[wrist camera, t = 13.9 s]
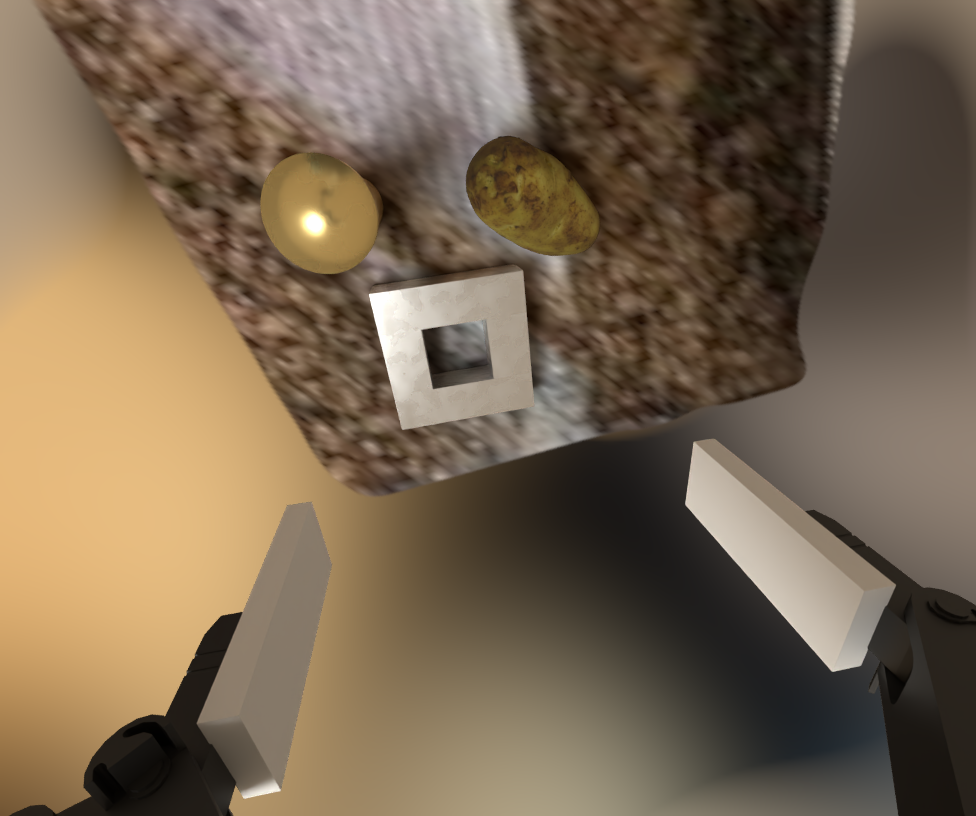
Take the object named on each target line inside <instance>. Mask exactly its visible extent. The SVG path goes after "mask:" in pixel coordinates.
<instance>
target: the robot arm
mask: <svg viewBox="0 0 976 816" xmlns="http://www.w3.org/2000/svg"><path fill="white" fill-rule="evenodd" d="M685 505H686V506H687V507H688V508H689V509H690V510H691V512H692V513H693V514H694V515H695V516H696V517H697V518H698V520H699V521H700V522H701V523H702V524H703V525H704V526H705V527H706V529H707V530H708V531H709V532H710V533H711V534H712V535H713V537H714V538H715V539H716V540H717V541H718V542H719V543H720V544H721V546H722V547H723V548H724V549H725V550H726V551H727V552H728V554H729V555H730V556H731V557H732V558H733V559H734V560H735V562H736V563H737V564H738V565H739V566H740V567H741V568H742V570H743V571H744V572H745V573H746V574H747V575H748V576H749V577H750V579H751V580H752V581H753V582H754V583H755V584H756V585H757V587H758V588H759V589H760V590H761V591H762V592H763V593H764V594H765V596H766V597H767V598H768V599H769V600H770V601H771V603H772V604H773V605H774V606H775V607H776V608H777V609H778V610H779V612H780V613H781V614H782V615H783V616H784V617H785V618H786V619H787V621H788V622H789V623H790V624H791V625H792V626H793V628H794V629H795V630H796V631H797V632H798V633H799V634H800V635H801V637H802V638H803V639H804V640H805V641H806V642H807V643H808V645H809V646H810V647H811V648H812V649H813V650H814V651H815V652H816V654H817V655H818V656H819V657H820V658H821V659H822V660H823V662H824V663H825V664H826V665H827V666H828V667H829V668H830V670H831V671H833V672H834V671H838V670H843V669H848V668H852V667H857V666H861V664H862V661H863V659H864V657H865V655H866V652H867V650H868V649H869V650H870V651H871V652H872V653H873V654H874V655H875V656H876V657H877V658H878V659H879V660H880V663H879V665H878V667H877V669H876V671H875V674H874V676H873V678H872V680H871V682H870V685H869V690H868V692H870V693H873V694H874V693H875V691H876V689H877V687H878V686H879V687H880V693H881V699H882V706H883V714H884V720H885V727H886V734H887V740H888V747H889V755H890V761H891V768H892V774H893V782H894V788H895V795H896V802H897V809H898V815H899V816H976V606H975V605H974V604H973V603H971V602H969V601H968V600H966V599H964V598H962V597H960V596H958V595H955V594H953V593H950V592H948V591H945V590H940V589H935V588H923V587H921V586H920V585H918V584H917V583H916V582H915V581H913V580H912V579H911V578H909V577H908V576H907V575H905V574H904V573H903V572H902V571H900V570H899V569H898V568H896V567H895V566H894V565H892V564H891V563H890V562H889V561H887V560H886V559H885V558H883V557H882V556H881V555H879V554H878V553H877V552H876V551H874V550H873V549H872V548H870V547H869V546H868V547H867V546H866V545H865V543H864V542H863V541H861V540H860V539H859V538H857V537H856V536H852V534H851V532H849V531H848V530H847V529H846V528H844V527H843V526H842V525H840V524H839V523H838V522H836V521H835V520H833V519H831V518H829V517H827V516H825V515H823V514H821V513H819V512H817V511H815V510H810V511H804V510H802V509H801V508H800V507H798V506H797V505H796V504H795V503H794V502H792V501H791V500H790V499H789V498H787V497H786V496H785V495H784V494H782V493H781V492H780V491H779V490H777V489H776V488H775V487H773V485H771V484H770V483H769V482H768V481H766V480H765V479H764V478H763V477H761V476H760V475H759V474H758V473H756V472H755V471H754V470H753V469H751V468H750V467H749V466H748V465H746V464H745V463H744V462H743V461H741V460H740V459H739V458H738V457H736V456H735V455H734V454H733V453H732V452H730V451H729V450H728V449H727V448H725V447H724V446H723V445H722V444H720V443H719V442H718V441H717V440H715V439H708V440H702V441H696V442H694V445H693V452H692V459H691V467H690V474H689V482H688V489H687V496H686V504H685ZM331 566H332V564H331V561H330V557H329V554H328V551H327V548H326V545H325V542H324V539H323V536H322V533H321V529H320V526H319V523H318V520H317V517H316V514H315V511H314V508H313V505H312V502H306V503H299V504H293V505H287V507H286V510H285V512H284V514H283V517H282V519H281V522H280V524H279V526H278V529H277V531H276V534H275V536H274V538H273V541H272V543H271V546H270V548H269V551H268V553H267V555H266V558H265V560H264V563H263V565H262V567H261V570H260V572H259V575H258V577H257V580H256V582H255V584H254V587H253V589H252V591H251V594H250V596H249V599H248V601H247V603H246V606H245V608H244V611H243V612H240V613H234V614H228V615H223V616H221V617H220V618H219V619H218V620H217V621H216V622H215V623H214V624H213V626H212V627H211V628H210V629H209V630H208V631H207V633H206V634H205V635H204V637H203V639H202V641H201V643H200V645H199V647H198V649H197V651H196V654H195V658H194V659H193V660H192V662H191V664H190V666H189V668H188V670H187V675H186V676H184V678H183V680H182V682H181V684H180V687H179V689H178V691H177V693H176V695H175V697H174V699H173V701H172V703H171V705H170V708H169V710H168V712H167V714H166V716H165V717H164V716H162V715H148V716H145V717H142V718H138V719H136V720H134V721H133V722H131V723H129V724H127V725H125V726H124V727H122V728H120V729H119V730H118V731H117V732H116V733H115V734H114V735H112V736H111V737H110V738H109V739H107V740H106V741H105V742H104V744H103V745H102V746H101V747H100V748H99V750H98V751H97V752H96V753H95V755H94V756H93V757H92V759H91V761H90V763H89V765H88V767H87V770H86V772H85V775H84V788H85V789H86V791H88V793H89V794H90V795H91V797H89V798H87V799H85V800H83V801H81V802H79V803H77V804H75V805H73V806H72V807H69V808H67V809H65V810H64V811H62V812H60V813H58V814H55V813H54V812H53V811H52V810H51V809H49V808H48V807H47V806H45V805H35V806H29V807H27V808H24V809H22V810H20V811H17V812H15V813H13V814H12V815H10V816H233V814H232V812H231V811H230V809H229V805H230V801H231V798H232V795H233V792H234V788H235V785H236V786H237V788H238V790H239V791H240V793H241V794H242V796H243V798H244V799H245V798H249V797H254V796H258V795H263V794H267V793H272V792H277V791H281V788H282V783H283V779H284V774H285V770H286V765H287V761H288V757H289V752H290V748H291V743H292V738H293V734H294V730H295V726H296V721H297V717H298V712H299V708H300V704H301V699H302V695H303V690H304V686H305V681H306V677H307V673H308V668H309V663H310V659H311V655H312V651H313V646H314V641H315V637H316V633H317V628H318V624H319V620H320V615H321V611H322V606H323V602H324V597H325V593H326V589H327V584H328V580H329V575H330V571H331Z"/></svg>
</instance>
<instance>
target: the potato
mask: <svg viewBox="0 0 976 816" xmlns="http://www.w3.org/2000/svg"><path fill="white" fill-rule="evenodd" d="M466 192H467V194H468V197H469V200H470V202H471V205H472V207H473V209H474V211H475V213H476V214H477V215H478V217H479V218H480V219H481V220H482V221H483V222H484V223H485V224H487V225H488V226H489V227H490V228H492V229H493V230H494V231H496V232H497V233H498V234H500V235H501V236H503V237H505V238H506V239H508V240H510V241H512V242H514V243H516V244H517V245H519V246H521V247H523V248H525V249H528V250H530V251H533V252H536V253H539V254H543V255H550V256H561V255H571V254H577V253H581V252H584V251H586V250H587V249H589V248H590V247H591V246H592V245H593V244H594V242H595V240H596V238H597V236H598V233H599V229H600V218H599V214H598V212H597V210H596V208H595V206H594V205H593V203H592V202H591V200H590V199H589V197H588V196H587V194H586V193H585V192H584V190H583V189H582V188H581V186H580V185H579V184H578V183H577V181H576V180H575V179H574V177H573V176H572V175H571V172H570V170H569V169H566V167H565V166H564V165H563V164H562V163H561V162H560V161H559V160H557V159H556V158H555V157H554V156H552V155H551V154H549V153H547V152H545V151H542V150H540V149H538V148H535V147H534V146H532V145H531V144H529V143H528V142H526V141H524V140H522V139H520V138H516V137H512V136H504V137H498V138H497V139H494V140H492V141H490V142H488V143H487V144H485V145H484V146H483V147H481V148H480V149H479V151H478V152H477V153H476V154H475V156H474V157H473V159H472V161H471V162H470V164H469V167H468V170H467V174H466Z"/></svg>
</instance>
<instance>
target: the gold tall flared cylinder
mask: <svg viewBox="0 0 976 816" xmlns="http://www.w3.org/2000/svg"><path fill="white" fill-rule="evenodd" d="M261 215H262V220H263V223H264V226H265V229H266V231H267V233H268V235H269V237H270V239H271V241H272V242H273V244H274V245H275V246H276V248H277V249H278V250H279V251H280V252H281V253H282V254H283V255H284V256H285V257H286V258H287V259H289V260H290V261H291V262H293V263H294V264H296V265H298V266H299V267H301V268H304V269H306V270H309V271H312V272H316V273H322V274H333V273H339V272H343V271H346V270H349V269H351V268H353V267H354V266H356V265H357V264H359V263H360V262H361V261H362V260H363V259H364V258H365V257H366V256H367V254H368V253H369V252H370V250H371V249H372V247H373V245H374V243H375V240H376V237H377V233H378V226H379V224H380V222H381V220H382V216H383V202H382V199H381V196H380V194H379V192H378V190H377V189H376V188H375V187H374V185H373V184H372V183H370V182H369V181H368V180H366V179H364V178H363V177H361V176H360V175H359V174H358V173H357V172H356V171H355V170H354V169H353V168H352V167H350V166H349V165H347V164H346V163H344V162H342V161H340V160H338V159H336V158H333V157H331V156H328V155H324V154H320V153H301V154H296V155H293V156H291V157H288V158H286V159H285V160H283V161H281V162H280V163H279V164H278V165H276V166H275V167H274V169H273V170H272V171H271V172H270V174H269V175H268V177H267V179H266V181H265V183H264V186H263V189H262V193H261Z"/></svg>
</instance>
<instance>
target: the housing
mask: <svg viewBox="0 0 976 816" xmlns="http://www.w3.org/2000/svg"><path fill="white" fill-rule="evenodd" d="M369 296H370V300H371V304H372V308H373V313H374V317H375V321H376V325H377V329H378V333H379V337H380V341H381V345H382V349H383V354H384V358H385V362H386V366H387V370H388V374H389V378H390V382H391V386H392V390H393V394H394V399H395V403H396V407H397V411H398V415H399V419H400V423H401V427H402V430H404V429H410V428H415V427H421V426H427V425H432V424H438V423H443V422H449V421H455V420H460V419H466V418H472V417H477V416H483V415H488V414H494V413H500V412H505V411H511V410H516V409H522V408H528V407H533V406H534V396H533V384H532V372H531V360H530V348H529V336H528V324H527V312H526V300H525V288H524V276H523V270H522V269H520V268H519V267H518V266H516V265H515V264H511V265H504V266H498V267H491V268H485V269H478V270H471V271H465V272H458V273H452V274H445V275H439V276H432V277H426V278H419V279H413V280H406V281H400V282H393V283H386V284H380V285H373V286H372V289H371V291H370V293H369ZM478 320H482V322H483V330H484V337H485V345H486V353H487V360H488V365H484V366H478V367H472V368H466V369H460V370H455V371H449V372H443V373H437V374H431V369H430V364H429V359H428V354H427V348H426V343H425V338H424V333H423V329H428V328H434V327H441V326H447V325H453V324H459V323H465V322H472V321H478Z"/></svg>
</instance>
